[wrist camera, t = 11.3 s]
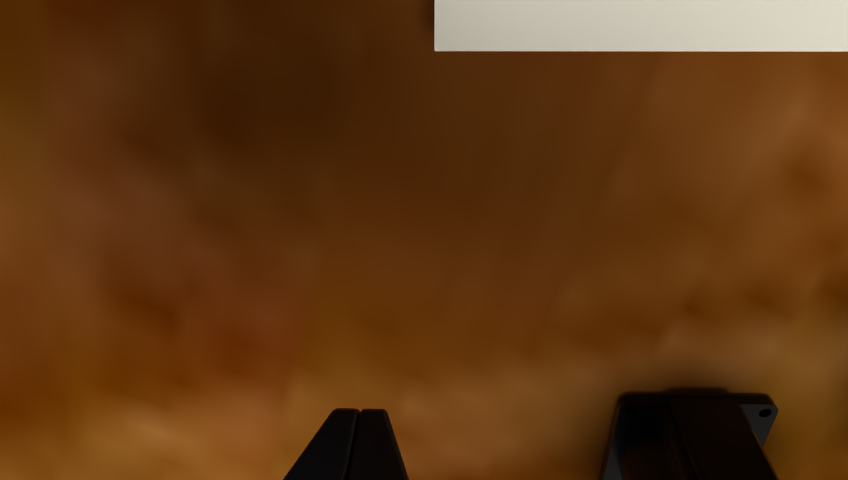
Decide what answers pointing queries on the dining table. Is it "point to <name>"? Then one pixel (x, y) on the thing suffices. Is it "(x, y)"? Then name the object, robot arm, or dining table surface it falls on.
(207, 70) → the dining table surface
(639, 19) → the chute
